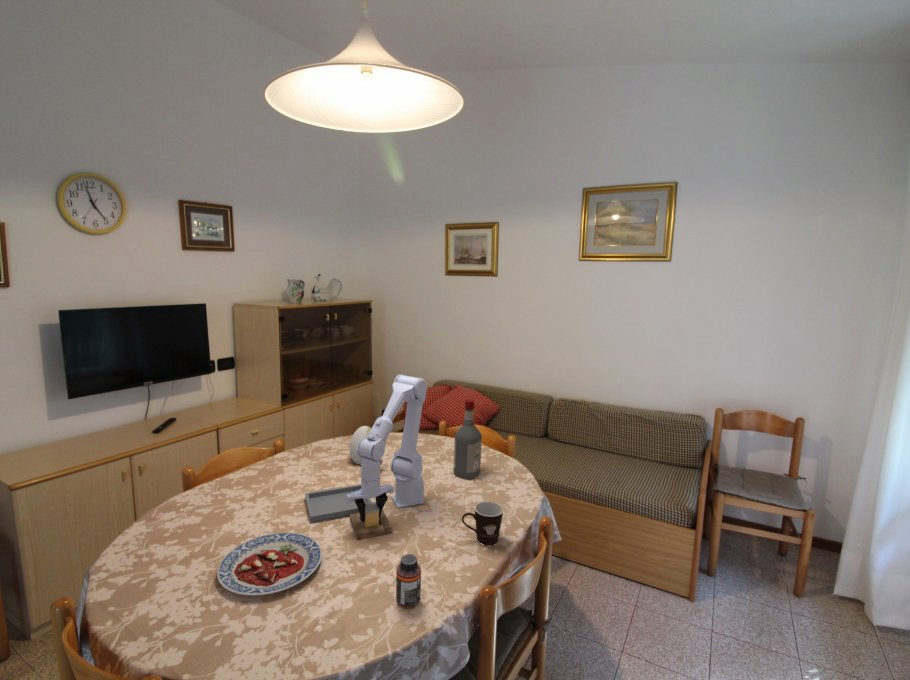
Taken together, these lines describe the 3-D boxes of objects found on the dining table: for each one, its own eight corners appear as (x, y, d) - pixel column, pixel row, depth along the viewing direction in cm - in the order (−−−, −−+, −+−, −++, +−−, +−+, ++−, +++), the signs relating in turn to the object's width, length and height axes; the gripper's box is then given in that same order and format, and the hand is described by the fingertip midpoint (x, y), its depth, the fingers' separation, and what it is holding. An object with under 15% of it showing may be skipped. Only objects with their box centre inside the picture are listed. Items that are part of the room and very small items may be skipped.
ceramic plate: (259, 618, 105) (258, 607, 105) (196, 575, 119) (196, 565, 118) (342, 560, 127) (342, 550, 126) (281, 529, 140) (281, 520, 140)
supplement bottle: (396, 592, 115) (397, 551, 113) (420, 591, 115) (421, 550, 114) (395, 610, 109) (396, 566, 107) (420, 609, 110) (421, 566, 108)
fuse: (374, 520, 147) (375, 501, 145) (379, 529, 142) (379, 509, 141) (361, 523, 145) (361, 503, 144) (365, 531, 140) (365, 512, 139)
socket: (382, 513, 151) (382, 508, 150) (392, 532, 140) (392, 527, 140) (349, 519, 146) (349, 514, 146) (357, 539, 136) (357, 534, 136)
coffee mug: (504, 535, 141) (506, 504, 140) (497, 550, 133) (499, 519, 132) (468, 526, 145) (469, 497, 143) (459, 541, 137) (461, 510, 135)
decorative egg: (376, 468, 184) (376, 432, 182) (346, 466, 184) (346, 431, 182) (381, 455, 196) (382, 421, 194) (353, 454, 196) (353, 420, 194)
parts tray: (362, 489, 166) (362, 483, 166) (373, 511, 152) (373, 505, 151) (305, 499, 158) (305, 493, 158) (310, 523, 144) (310, 516, 143)
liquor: (482, 472, 183) (485, 400, 178) (470, 481, 176) (474, 405, 171) (462, 466, 188) (465, 395, 183) (450, 474, 180) (453, 401, 176)
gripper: (388, 467, 148) (387, 506, 150) (343, 476, 141) (343, 517, 143) (396, 476, 142) (395, 517, 144) (350, 486, 135) (350, 529, 137)
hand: (370, 518), depth 143 cm, fingers closed on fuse, 4 cm apart
